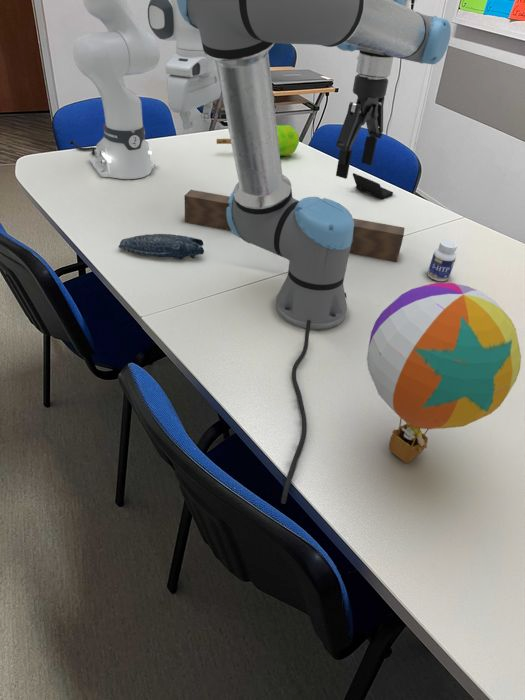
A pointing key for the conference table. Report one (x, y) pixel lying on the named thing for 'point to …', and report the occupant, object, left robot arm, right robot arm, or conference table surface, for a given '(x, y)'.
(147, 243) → the fish model
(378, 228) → the bar
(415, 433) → the toy
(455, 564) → the conference table surface
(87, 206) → the conference table surface
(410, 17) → the right robot arm
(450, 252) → the pill bottle
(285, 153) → the decorative tree
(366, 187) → the handheld gaming console
